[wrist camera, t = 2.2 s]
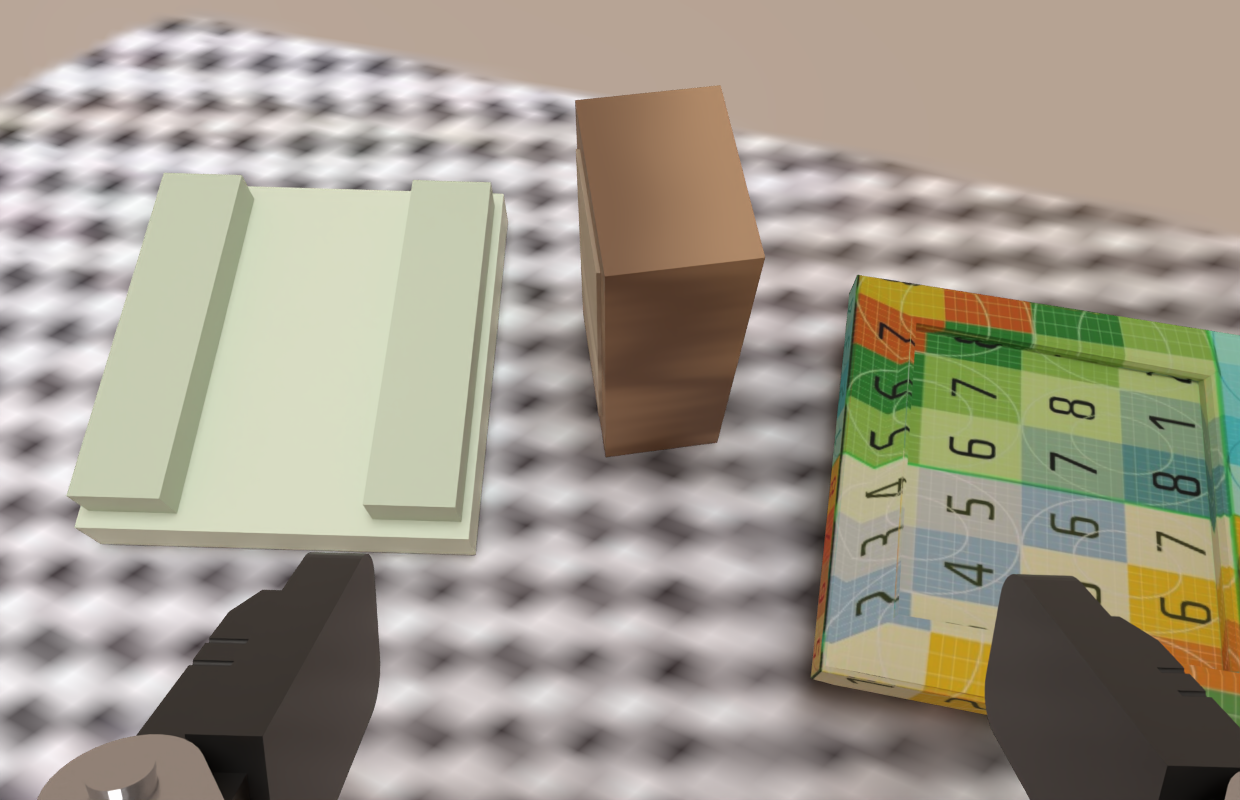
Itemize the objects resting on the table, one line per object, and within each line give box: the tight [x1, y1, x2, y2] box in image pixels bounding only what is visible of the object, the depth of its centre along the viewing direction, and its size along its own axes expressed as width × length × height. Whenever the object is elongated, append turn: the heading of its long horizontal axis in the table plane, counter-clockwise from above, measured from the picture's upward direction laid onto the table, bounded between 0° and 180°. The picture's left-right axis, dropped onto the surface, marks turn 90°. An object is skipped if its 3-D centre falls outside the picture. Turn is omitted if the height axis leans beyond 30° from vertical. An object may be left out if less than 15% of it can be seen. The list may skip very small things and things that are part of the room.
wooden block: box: [575, 85, 765, 457], centre depth 26 cm, size 4×5×10 cm
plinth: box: [67, 173, 508, 555], centre depth 29 cm, size 11×12×3 cm
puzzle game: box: [811, 275, 1240, 727], centre depth 26 cm, size 12×5×20 cm
